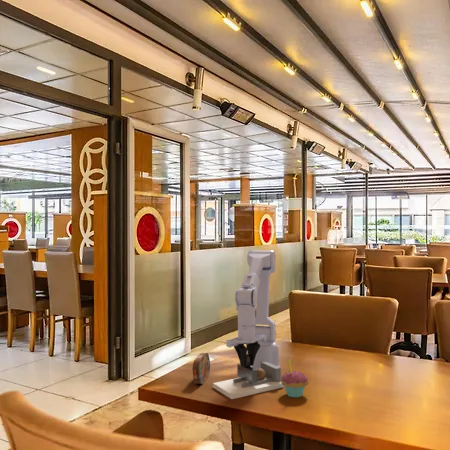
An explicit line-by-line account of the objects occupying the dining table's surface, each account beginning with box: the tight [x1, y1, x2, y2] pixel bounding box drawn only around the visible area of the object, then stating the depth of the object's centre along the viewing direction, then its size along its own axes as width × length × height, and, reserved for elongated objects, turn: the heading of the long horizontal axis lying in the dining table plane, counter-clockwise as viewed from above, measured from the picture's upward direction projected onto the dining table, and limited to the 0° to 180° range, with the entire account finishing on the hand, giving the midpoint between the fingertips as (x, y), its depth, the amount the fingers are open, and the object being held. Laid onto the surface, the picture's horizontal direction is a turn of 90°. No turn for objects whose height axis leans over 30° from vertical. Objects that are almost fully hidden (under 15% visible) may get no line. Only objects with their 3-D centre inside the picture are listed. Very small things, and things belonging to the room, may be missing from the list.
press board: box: [212, 361, 285, 400], centre depth 152 cm, size 20×12×6 cm, turn 120°
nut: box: [256, 368, 265, 380], centre depth 154 cm, size 4×4×4 cm
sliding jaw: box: [236, 353, 257, 384], centre depth 152 cm, size 2×9×8 cm, turn 30°
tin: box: [192, 352, 211, 385], centre depth 160 cm, size 15×3×8 cm, turn 168°
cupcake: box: [281, 358, 309, 398], centre depth 145 cm, size 9×8×12 cm
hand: (247, 365), depth 152 cm, fingers closed on sliding jaw, 2 cm apart
